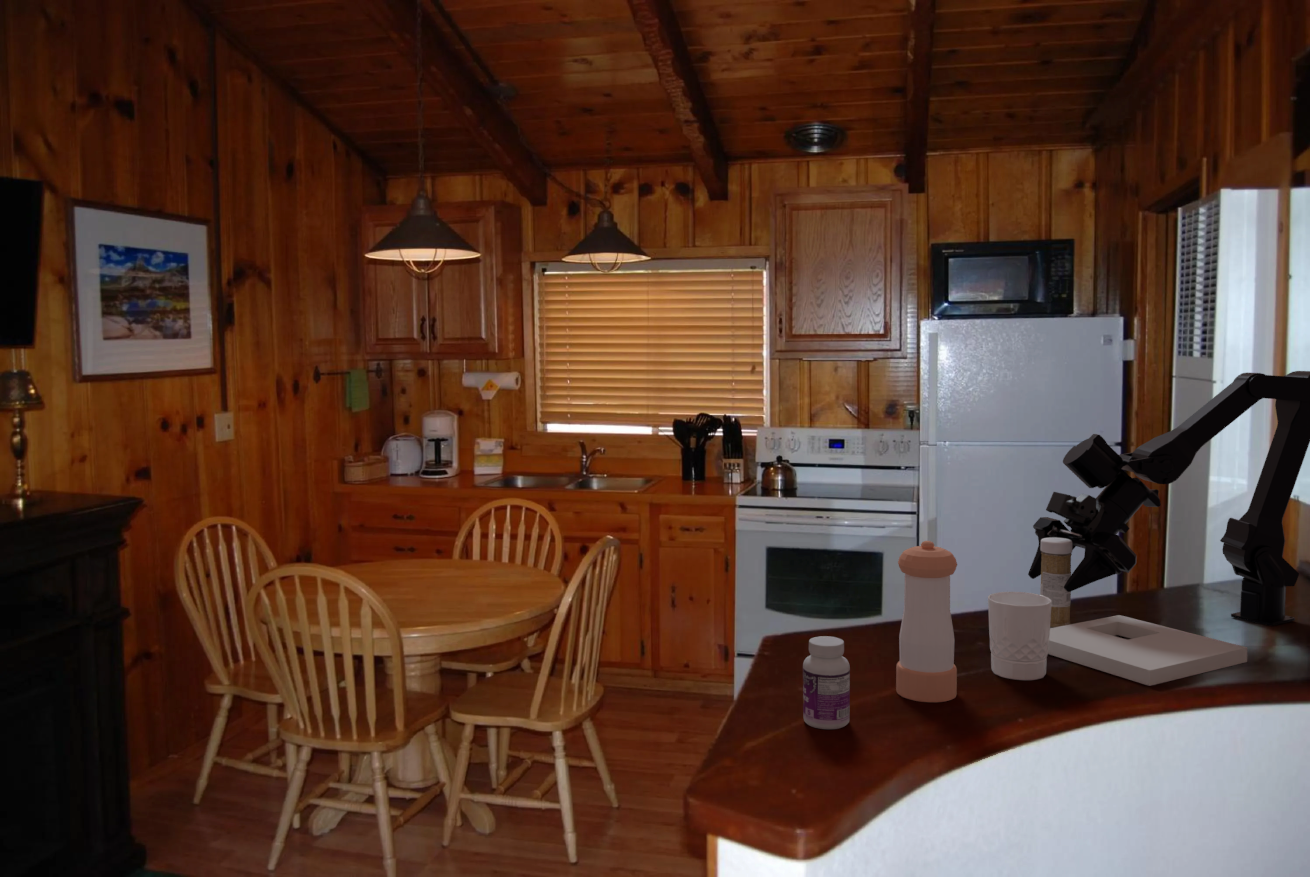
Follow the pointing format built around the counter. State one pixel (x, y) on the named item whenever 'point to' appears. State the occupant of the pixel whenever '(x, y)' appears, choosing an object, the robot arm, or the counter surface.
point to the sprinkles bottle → (1056, 577)
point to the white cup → (1019, 634)
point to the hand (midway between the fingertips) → (1047, 583)
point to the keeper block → (1141, 649)
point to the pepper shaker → (927, 626)
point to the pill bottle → (826, 684)
